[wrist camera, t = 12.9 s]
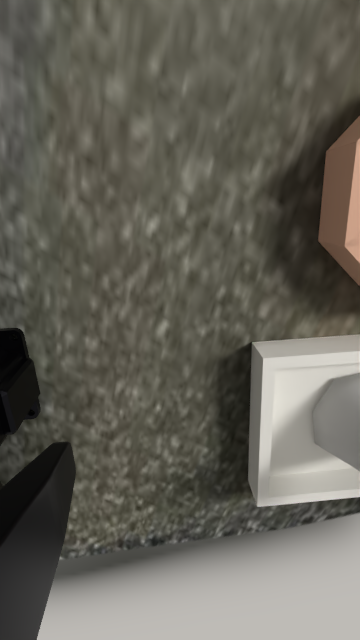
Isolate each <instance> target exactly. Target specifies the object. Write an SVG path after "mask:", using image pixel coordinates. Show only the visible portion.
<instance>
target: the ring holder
mask: <svg viewBox="0 0 360 640" xmlns="http://www.w3.org/2000/svg"><path fill="white" fill-rule="evenodd" d="M318 241H319V242H320V244H321V245H322V246H323V247H324V248H325V249H326V250H327V251H328V252H329V253H330V254H331V256H332V257H333V258H334V259H335V260H336V261H337V262H338V263H339V264H340V265H341V267H342V268H343V269H344V270H345V271H346V272H347V273H348V274H349V275H350V276H351V278H352V279H353V280H354V281H355V282H356V283H357V284H358V285H359V286H360V116H359V117H358V118H357V119H356V120H355V121H354V122H353V123H352V124H351V125H350V126H349V127H348V129H347V130H346V131H345V132H344V133H343V134H342V135H341V136H340V137H339V138H338V139H337V140H336V141H335V143H334V144H333V145H332V146H331V147H330V148H329V149H328V150H327V151H326V159H325V170H324V181H323V192H322V203H321V214H320V225H319V236H318Z"/></svg>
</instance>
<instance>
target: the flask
mask: <svg viewBox="0 0 360 640" xmlns="http://www.w3.org/2000/svg"><path fill="white" fill-rule="evenodd" d="M312 414H313V427H314V440H315V444H317V445H318V446H320V447H321V448H323V449H324V450H326V451H327V452H329V453H331V454H332V455H334V456H336V457H337V458H339V459H341V460H342V461H344V462H346V463H347V464H349V465H350V466H352V467H354V468H355V469H357V470H358V471H360V374H355V375H351V376H346V377H341V378H337V379H334V381H333V382H332V383H331V385H330V386H329V388H328V389H327V391H326V392H325V394H324V395H323V397H322V398H321V400H320V401H319V402H318V404H317V405H316V407H315V408H314V410H313V411H312Z"/></svg>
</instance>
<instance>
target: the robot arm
mask: <svg viewBox="0 0 360 640" xmlns="http://www.w3.org/2000/svg"><path fill="white" fill-rule="evenodd" d="M12 334H15V335H17V337H18V339H14V338H13V337H12ZM39 394H40V390H39V385H38V381H37V376H36V372H35V367H34V363H33V361H32V360H31V359H30V358H29V355H28V350H27V346H26V341H25V337H24V334H23V332H22V331H21V330H20V329H18V328H4V329H0V446H1V444H2V443H3V441H4V440H5V438H6V437H7V435H11V434H14V433H15V432H16V431H17V430H18V428H19V426H20V425H21V423H22V422H23V420H25V419H34V418H36V417H37V416H38V415H39V413H40V410H41V409H40V404H39V400H38V396H39ZM30 409H31V410H34V412H31V411H30ZM75 475H76V467H75V462H74V457H73V451H72V446H71V444H70V443H69V442H56V443H53V444H51V445H50V446H49V447H48V448H47V449H45V450H44V451H43V452H42V453H41V454H40V455H39V456H37V457H36V458H35V459H34V460H33V461H32V462H31V463H30V464H28V465H27V466H26V467H25V468H24V469H23V470H22V471H20V472H19V473H18V474H17V475H16V476H15V477H14V478H12V479H11V480H10V481H9V482H8V483H7V484H6V485H5V486H3V485H2V483H1V482H0V640H37V636H38V632H39V629H40V625H41V622H42V618H43V615H44V611H45V607H46V604H47V600H48V597H49V593H50V590H51V586H52V582H53V579H54V575H55V572H56V568H57V565H58V561H59V557H60V554H61V550H62V546H63V542H64V539H65V533H66V528H67V522H68V516H69V511H70V505H71V499H72V493H73V487H74V481H75Z"/></svg>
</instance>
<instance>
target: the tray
mask: <svg viewBox="0 0 360 640" xmlns="http://www.w3.org/2000/svg"><path fill="white" fill-rule="evenodd" d="M355 374H360V334H359V335H345V336H331V337H317V338H303V339H289V340H276V341H262V342H252V353H251V389H250V425H249V461H248V481H249V484H250V487H251V490H252V493H253V496H254V499H255V502H256V505H257V507H262V506H272V505H282V504H292V503H303V502H313V501H323V500H333V499H343V498H354V497H360V471H358V470H357V469H355V468H354V467H352V466H350V465H349V464H347V463H346V462H344V461H342V460H341V459H339V458H337V457H336V456H334V455H332V454H331V453H329V452H327V451H326V450H324V449H323V448H321V447H320V446H318V445H317V444H315V440H314V427H313V414H312V411H313V410H314V408H315V407H316V405H317V404H318V402H319V401H320V400H321V398H322V397H323V395H324V394H325V392H326V391H327V389H328V388H329V386H330V385H331V383H332V382H333V381H334V379H337V378H341V377H346V376H351V375H355Z"/></svg>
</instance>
